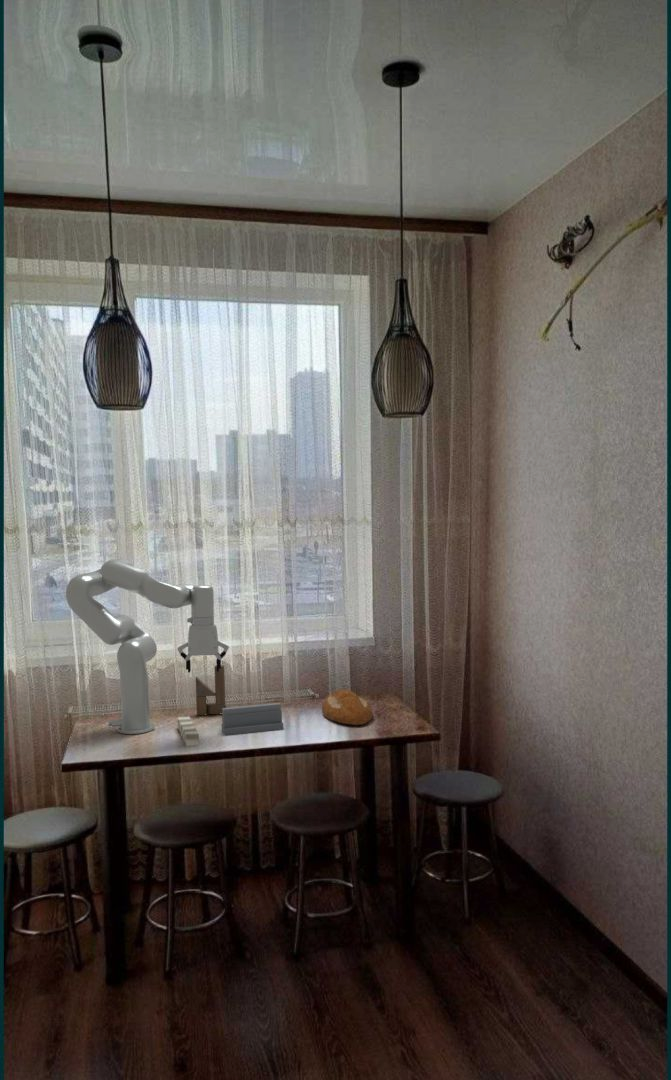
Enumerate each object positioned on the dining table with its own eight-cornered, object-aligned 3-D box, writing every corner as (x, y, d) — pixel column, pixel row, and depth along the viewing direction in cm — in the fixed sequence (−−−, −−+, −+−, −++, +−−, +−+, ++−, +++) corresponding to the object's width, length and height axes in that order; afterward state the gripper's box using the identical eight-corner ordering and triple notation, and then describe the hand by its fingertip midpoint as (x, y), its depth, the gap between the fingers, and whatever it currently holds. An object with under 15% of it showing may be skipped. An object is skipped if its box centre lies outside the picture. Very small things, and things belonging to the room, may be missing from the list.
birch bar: (199, 745, 274) (198, 733, 274) (186, 747, 273) (186, 734, 273) (189, 727, 297) (189, 716, 297) (177, 728, 296) (177, 717, 296)
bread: (359, 703, 327) (359, 680, 326) (382, 726, 292) (382, 700, 292) (314, 706, 323) (314, 683, 323) (332, 730, 289) (332, 704, 288)
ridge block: (225, 735, 285) (224, 711, 285) (221, 729, 292) (220, 706, 292) (283, 729, 291) (282, 706, 290) (278, 723, 298) (277, 701, 298)
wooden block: (196, 713, 316) (195, 665, 315) (226, 712, 317) (224, 664, 316) (196, 716, 312) (195, 667, 311) (226, 714, 313) (224, 666, 313)
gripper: (176, 623, 284) (177, 674, 285) (228, 622, 286) (228, 672, 287) (177, 620, 292) (178, 669, 292) (228, 619, 293) (229, 668, 294)
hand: (203, 671), depth 290 cm, fingers open, 9 cm apart
